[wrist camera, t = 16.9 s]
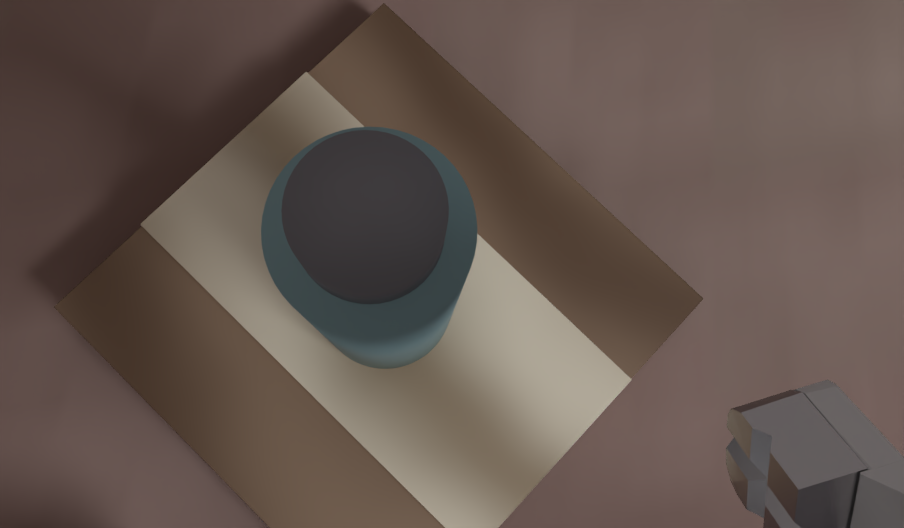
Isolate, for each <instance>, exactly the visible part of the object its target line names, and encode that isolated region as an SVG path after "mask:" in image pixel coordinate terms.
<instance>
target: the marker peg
mask: <svg viewBox="0 0 904 528" xmlns="http://www.w3.org/2000/svg"><path fill="white" fill-rule="evenodd" d="M261 241H262V249H263V254H264V259H265V262H266V265H267V268H268V271H269V273H270V275H271V277H272V279H273V281H274V283H275V285H276V287H277V288H278V289H279V291H280V292H281V294H282V295H283V297H284V298H285V299H286V300H287V301H288V302H289V303H290V304H291V306H292V307H293V308H294V309H296V310H297V311H298V312H299V313H300V314H301V315H302V316H303V317H304V318H305V319H306V320H307V321H308V322H309V323H311V324H312V325H313V326H314V327H315V328H316V329H317V330H318V331H319V332H320V333H321V334H322V335H323V336H324V337H325V338H327V339H328V340H329V341H330V342H331V343H332V344H333V345H334V346H335V347H336V348H337V349H338V350H339V351H341V352H342V353H343V354H344V355H345V356H347V357H348V358H350V359H351V360H353V361H355V362H357V363H359V364H362V365H365V366H368V367H372V368H379V369H390V368H398V367H402V366H406V365H409V364H411V363H413V362H415V361H417V360H419V359H421V358H422V357H424V356H425V355H427V354H428V353H429V352H430V351H431V350H432V349H433V348H434V347H435V346H436V345H437V343H438V342H439V341H440V339H441V338H442V336H443V335H444V333H445V331H446V328H447V326H448V324H449V321H450V319H451V316H452V314H453V311H454V309H455V306H456V304H457V301H458V299H459V296H460V294H461V291H462V288H463V286H464V283H465V281H466V278H467V276H468V273H469V271H470V268H471V265H472V262H473V259H474V256H475V250H476V244H477V218H476V212H475V208H474V203H473V200H472V197H471V195H470V192H469V189H468V187H467V185H466V183H465V182H464V180H463V178H462V176H461V175H460V173H459V172H458V171H457V169H456V168H455V166H454V165H453V164H452V163H451V162H450V161H449V160H448V159H447V158H446V157H445V156H444V155H443V154H442V153H441V152H439V151H438V150H437V149H436V148H435V147H433V146H432V145H430V144H428V143H427V142H425V141H424V140H422V139H420V138H418V137H415V136H413V135H411V134H408V133H405V132H402V131H399V130H395V129H390V128H384V127H355V128H350V129H345V130H341V131H338V132H335V133H332V134H329V135H327V136H324V137H322V138H320V139H318V140H316V141H314V142H313V143H311V144H310V145H308V146H307V147H305V148H304V149H303V150H301V151H300V152H299V153H298V154H297V155H295V156H294V157H293V158H292V159H291V160H290V161H289V163H288V164H287V165H286V166H285V167H284V168H283V170H282V171H281V172H280V174H279V175H278V177H277V178H276V180H275V182H274V184H273V186H272V188H271V189H270V192H269V194H268V197H267V200H266V203H265V207H264V211H263V215H262V225H261Z"/></svg>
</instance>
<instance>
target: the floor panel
mask: <svg viewBox="0 0 904 528" xmlns="http://www.w3.org/2000/svg"><path fill="white" fill-rule="evenodd" d="M355 127H384V128H390V129H395V130H399V131H402V132H405V133H408V134H411V135H413V136H415V137H418V138H420V139H422V140H424V141H425V142H427V143H428V144H430V145H432V146H433V147H435V148H436V149H437V150H438V151H439V152H441V153H442V154H443V155H444V156H445V157H446V158H447V159H448V160H449V161H450V162H451V163H452V164H453V165H454V166H455V168H456V169H457V171H458V172H459V173H460V175H461V176H462V178H463V180H464V182H465V183H466V185H467V187H468V189H469V192H470V195H471V197H472V200H473V203H474V208H475V212H476V218H477V244H476V250H475V256H474V259H473V262H472V265H471V268H470V271H469V273H468V276H467V278H466V281H465V283H464V286H463V288H462V291H461V294H460V296H459V299H458V301H457V304H456V306H455V309H454V311H453V314H452V316H451V319H450V321H449V324H448V326H447V328H446V331H445V333H444V335H443V336H442V338H441V339H440V341H439V342H438V343H437V345H436V346H435V347H434V348H433V349H432V350H431V351H430V352H429V353H428V354H427V355H425V356H424V357H422V358H421V359H419V360H417V361H415V362H413V363H411V364H409V365H406V366H402V367H398V368H390V369H379V368H372V367H368V366H365V365H362V364H359V363H357V362H355V361H353V360H351V359H350V358H348V357H347V356H345V355H344V354H343V353H342V352H341V351H339V350H338V349H337V348H336V347H335V346H334V345H333V344H332V343H331V342H330V341H329V340H328V339H327V338H325V337H324V336H323V335H322V334H321V333H320V332H319V331H318V330H317V329H316V328H315V327H314V326H313V325H312V324H311V323H309V322H308V321H307V320H306V319H305V318H304V317H303V316H302V315H301V314H300V313H299V312H298V311H297V310H296V309H294V308H293V307H292V306H291V304H290V303H289V302H288V301H287V300H286V299H285V298H284V297H283V295H282V294H281V292H280V291H279V289H278V288H277V287H276V285H275V283H274V281H273V279H272V277H271V275H270V273H269V271H268V268H267V265H266V262H265V259H264V254H263V249H262V241H261V225H262V215H263V211H264V207H265V203H266V200H267V197H268V194H269V192H270V189H271V188H272V186H273V184H274V182H275V180H276V178H277V177H278V175H279V174H280V172H281V171H282V170H283V168H284V167H285V166H286V165H287V164H288V163H289V161H290V160H291V159H292V158H293V157H294V156H295V155H297V154H298V153H299V152H300V151H301V150H303V149H304V148H305V147H307V146H308V145H310V144H311V143H313V142H314V141H316V140H318V139H320V138H322V137H324V136H327V135H329V134H332V133H335V132H338V131H341V130H345V129H350V128H355ZM140 225H141V227H140V228H139V229H138V230H137V231H136V232H135V233H134V234H133V235H132V236H131V237H129V238H128V239H127V240H126V241H125V242H124V243H123V244H122V245H121V246H120V247H119V248H117V249H116V250H115V251H114V252H113V253H112V254H111V255H110V256H109V257H108V258H107V259H106V260H104V261H103V262H102V263H101V264H100V265H99V266H98V267H97V268H96V269H95V270H94V271H93V272H91V273H90V274H89V275H88V276H87V277H86V278H85V279H84V280H83V281H82V282H81V283H79V284H78V285H77V286H76V287H75V288H74V289H73V290H72V291H71V292H70V293H69V294H68V295H66V296H65V297H64V298H63V299H62V300H61V301H60V302H59V303H58V304H57V305H56V306H54V308H55V309H56V310H57V311H58V312H59V313H60V314H61V315H62V316H63V317H64V318H65V319H66V320H67V321H68V322H69V323H70V324H71V325H72V326H73V327H74V328H75V329H76V330H77V331H78V332H79V333H80V334H81V335H82V336H83V337H84V338H85V339H86V340H87V341H88V342H89V343H90V345H91V346H92V347H93V348H94V349H95V350H96V351H97V352H98V353H99V354H100V355H101V356H102V357H103V358H104V359H105V360H106V361H107V362H108V363H109V364H110V365H111V366H112V367H113V368H114V369H115V370H116V371H117V372H118V373H119V374H120V375H121V376H122V377H123V378H124V379H125V380H126V381H127V382H128V383H129V384H130V385H131V386H132V387H133V388H134V389H135V390H136V391H137V393H138V394H139V395H140V396H141V397H142V398H143V399H144V400H145V401H146V402H147V403H148V404H149V405H150V406H151V407H152V408H153V409H154V410H155V411H156V412H157V413H158V414H159V415H160V416H161V417H162V418H163V419H164V420H165V421H166V422H167V423H168V424H169V425H170V426H171V427H172V428H173V429H174V430H175V431H176V432H177V433H178V434H179V435H180V436H181V437H182V438H183V440H184V441H185V442H186V443H187V444H188V445H189V446H190V447H191V448H192V449H193V450H194V451H195V452H196V453H197V454H198V455H199V456H200V457H201V458H202V459H203V460H204V461H205V462H206V463H207V464H208V465H209V466H210V467H211V468H212V469H213V470H214V471H215V472H216V473H217V474H218V475H219V476H220V477H221V478H222V479H223V480H224V481H225V482H226V483H227V484H228V485H229V487H230V488H231V489H232V490H233V491H234V492H235V493H236V494H237V495H238V496H239V497H240V498H241V499H242V500H243V501H244V502H245V503H246V504H247V505H248V506H249V507H250V508H251V509H252V510H253V511H254V512H255V513H256V514H257V515H258V516H259V517H260V518H261V519H262V520H263V521H264V522H265V523H266V524H267V525H268V526H269V527H270V528H498V527H499V526H500V525H501V524H502V523H503V522H504V521H505V520H506V519H507V517H508V516H509V515H510V514H511V513H512V512H513V511H514V510H515V509H516V507H517V506H518V505H519V504H520V503H521V502H522V501H523V500H524V499H525V497H526V496H527V495H528V494H529V493H530V492H531V491H532V490H533V489H534V487H535V486H536V485H537V484H538V483H539V482H540V481H541V480H542V479H543V478H544V476H545V475H546V474H547V473H548V472H549V471H550V470H551V469H552V468H553V466H554V465H555V464H556V463H557V462H558V461H559V460H560V459H561V458H562V456H563V455H564V454H565V453H566V452H567V451H568V450H569V449H570V448H571V446H572V445H573V444H574V443H575V442H576V441H577V440H578V439H579V438H580V437H581V435H582V434H583V433H584V432H585V431H586V430H587V429H588V428H589V427H590V425H591V424H592V423H593V422H594V421H595V420H596V419H597V418H598V417H599V415H600V414H601V413H602V412H603V411H604V410H605V409H606V408H607V407H608V405H609V404H610V403H611V402H612V401H613V400H614V399H615V398H616V397H617V395H618V394H619V393H620V392H621V391H622V390H623V389H624V388H625V387H626V386H627V384H628V383H629V382H630V381H631V380H632V379H631V378H632V377H633V376H634V375H635V374H636V373H637V372H638V371H639V370H640V368H641V367H642V366H643V365H644V364H645V363H646V362H647V361H648V360H649V358H650V357H651V356H652V355H653V354H654V353H655V352H656V351H657V350H658V348H659V347H660V346H661V345H662V344H663V343H664V342H665V341H666V340H667V338H668V337H669V336H670V335H671V334H672V333H673V332H674V331H675V330H676V329H677V327H678V326H679V325H680V324H681V323H682V322H683V321H684V320H685V319H686V317H687V316H688V315H689V314H690V313H691V312H692V311H693V310H694V309H695V307H696V306H697V305H698V304H699V303H700V302H701V301H702V300H703V298H702V297H701V296H700V295H699V294H698V293H697V292H696V291H695V290H694V289H693V288H691V287H690V286H689V285H688V284H687V283H686V282H685V281H684V280H683V279H682V278H681V277H680V276H678V275H677V274H676V273H675V272H674V271H673V270H672V269H671V268H670V267H669V266H668V265H667V264H665V263H664V262H663V261H662V260H661V259H660V258H659V257H658V256H657V255H656V254H655V253H654V252H653V251H651V250H650V249H649V248H648V247H647V246H646V245H645V244H644V243H643V242H642V241H641V240H640V239H638V238H637V237H636V236H635V235H634V234H633V233H632V232H631V231H630V230H629V229H628V228H627V227H625V226H624V225H623V224H622V223H621V222H620V221H619V220H618V219H617V218H616V217H615V216H614V215H612V214H611V213H610V212H609V211H608V210H607V209H606V208H605V207H604V206H603V205H602V204H601V203H600V202H598V201H597V200H596V199H595V198H594V197H593V196H592V195H591V194H590V193H589V192H588V191H587V190H585V189H584V188H583V187H582V186H581V185H580V184H579V183H578V182H577V181H576V180H575V179H574V178H572V177H571V176H570V175H569V174H568V173H567V172H566V171H565V170H564V169H563V168H562V167H561V166H559V165H558V164H557V163H556V162H555V161H554V160H553V159H552V158H551V157H550V156H549V155H548V154H547V153H545V152H544V151H543V150H542V149H541V148H540V147H539V146H538V145H537V144H536V143H535V142H534V141H532V140H531V139H530V138H529V137H528V136H527V135H526V134H525V133H524V132H523V131H522V130H521V129H519V128H518V127H517V126H516V125H515V124H514V123H513V122H512V121H511V120H510V119H509V118H508V117H507V116H505V115H504V114H503V113H502V112H501V111H500V110H499V109H498V108H497V107H496V106H495V105H494V104H492V103H491V102H490V101H489V100H488V99H487V98H486V97H485V96H484V95H483V94H482V93H481V92H479V91H478V90H477V89H476V88H475V87H474V86H473V85H472V84H471V83H470V82H469V81H468V80H466V79H465V78H464V77H463V76H462V75H461V74H460V73H459V72H458V71H457V70H456V69H455V68H454V67H452V66H451V65H450V64H449V63H448V62H447V61H446V60H445V59H444V58H443V57H442V56H441V55H439V54H438V53H437V52H436V51H435V50H434V49H433V48H432V47H431V46H430V45H429V44H428V43H426V42H425V41H424V40H423V39H422V38H421V37H420V36H419V35H418V34H417V33H416V32H415V31H413V30H412V29H411V28H410V27H409V26H408V25H407V24H406V23H405V22H404V21H403V20H402V19H401V18H399V17H398V16H397V15H396V14H395V13H394V12H393V11H392V10H391V9H390V8H389V7H388V6H386V5H385V4H383V5H381V6H380V7H379V8H378V9H377V10H376V11H375V12H374V13H373V14H372V15H371V16H369V17H368V18H367V19H366V20H365V21H364V22H363V23H362V24H361V25H360V26H359V27H358V28H356V29H355V30H354V31H353V32H352V33H351V34H350V35H349V36H348V37H347V38H346V39H344V40H343V41H342V42H341V43H340V44H339V45H338V46H337V47H336V48H335V49H334V50H333V51H331V52H330V53H329V54H328V55H327V56H326V57H325V58H324V59H323V60H322V61H321V62H320V63H318V64H317V65H316V66H315V67H314V68H313V69H312V70H311V71H310V72H309V73H307V72H305V73H304V74H303V75H302V76H301V77H300V78H299V79H298V80H296V81H295V82H294V83H293V84H292V85H291V86H290V87H289V88H288V89H287V90H286V91H284V92H283V93H282V94H281V95H280V96H279V97H278V98H277V99H276V100H275V101H274V102H273V103H271V104H270V105H269V106H268V107H267V108H266V109H265V110H264V111H263V112H262V113H261V114H259V115H258V116H257V117H256V118H255V119H254V120H253V121H252V122H251V123H250V124H249V125H247V126H246V127H245V128H244V129H243V130H242V131H241V132H240V133H239V134H238V135H237V136H236V137H234V138H233V139H232V140H231V141H230V142H229V143H228V144H227V145H226V146H225V147H224V148H222V149H221V150H220V151H219V152H218V153H217V154H216V155H215V156H214V157H213V158H212V159H211V160H209V161H208V162H207V163H206V164H205V165H204V166H203V167H202V168H201V169H200V170H199V171H197V172H196V173H195V174H194V175H193V176H192V177H191V178H190V179H189V180H188V181H187V182H186V183H184V184H183V185H182V186H181V187H180V188H179V189H178V190H177V191H176V192H175V193H174V194H172V195H171V196H170V197H169V198H168V199H167V200H166V201H165V202H164V203H163V204H162V205H161V206H159V207H158V208H157V209H156V210H155V211H154V212H153V213H152V214H151V215H150V216H149V217H147V218H146V219H145V220H144V221H143V222H142V223H141V224H140Z"/></svg>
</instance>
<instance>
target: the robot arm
mask: <svg viewBox="0 0 904 528" xmlns="http://www.w3.org/2000/svg"><path fill="white" fill-rule="evenodd" d="M727 428H728V429H729V431H730V432H731V434H732V435H733V437H734V438H733V440H732V441H731V442H730V443H729V445H728V446H727V447H726V465H727V469H728V472H729V476H730V480H731V483H732V485H733V487H734V489H735V491H736V493H737V495H738V497H739V498H740V500H741V501H742V503H743V504H744V506H745V508H746V509H747V510H749V511H751V512H753V513H755V514H757V515H759V516H761V517H763V518H764V525H763V528H904V457H903V456H902V455H901V454H900V452H899V451H898V450H897V449H896V448H895V447H894V446H893V445H892V444H891V443H890V442H889V441H888V440H887V438H886V437H885V436H884V435H883V434H882V433H881V432H880V431H879V430H878V429H877V428H876V427H875V426H874V424H873V423H872V422H871V421H870V420H869V419H868V418H867V417H866V416H865V415H864V414H863V413H862V412H861V410H860V409H859V408H858V407H857V406H856V405H855V404H854V403H853V402H852V401H851V400H850V399H849V398H848V396H847V395H846V394H845V393H844V392H843V391H842V390H841V389H840V388H839V387H838V386H837V385H836V384H835V383H833V382H831V381H829V380H825V381H822V382H818V383H815V384H812V385H808V386H805V387H802V388H798V389H796V390H789V391H786V392H783V393H780V394H777V395H773V396H770V397H767V398H764V399H761V400H758V401H754V402H751V403H748V404H745V405H742V406H739V407H735V408H732V409H731V410H730V412H729V414H728V419H727Z"/></svg>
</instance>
